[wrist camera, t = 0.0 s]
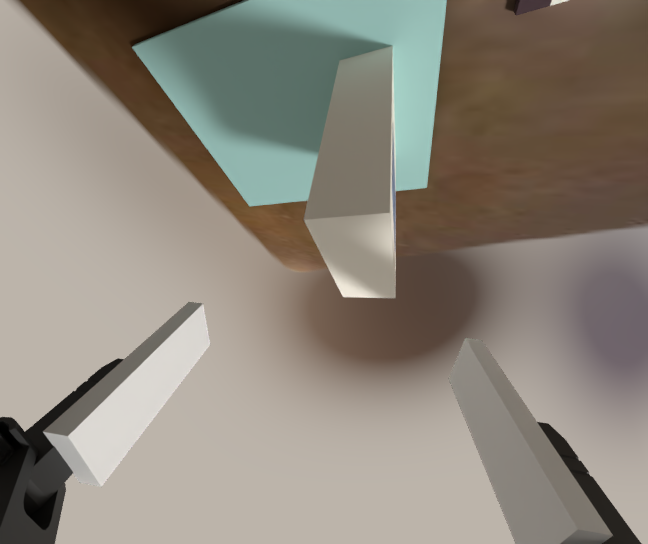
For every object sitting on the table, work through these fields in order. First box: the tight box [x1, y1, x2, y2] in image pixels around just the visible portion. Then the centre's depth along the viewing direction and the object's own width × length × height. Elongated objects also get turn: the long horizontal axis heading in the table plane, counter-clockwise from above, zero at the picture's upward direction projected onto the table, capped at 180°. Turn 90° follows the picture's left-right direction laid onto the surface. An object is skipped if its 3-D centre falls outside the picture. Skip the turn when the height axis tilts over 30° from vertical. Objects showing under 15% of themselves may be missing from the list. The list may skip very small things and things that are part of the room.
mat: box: [132, 0, 447, 206], centre depth 18 cm, size 14×18×1 cm
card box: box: [304, 46, 396, 298], centre depth 14 cm, size 7×3×12 cm, turn 16°
